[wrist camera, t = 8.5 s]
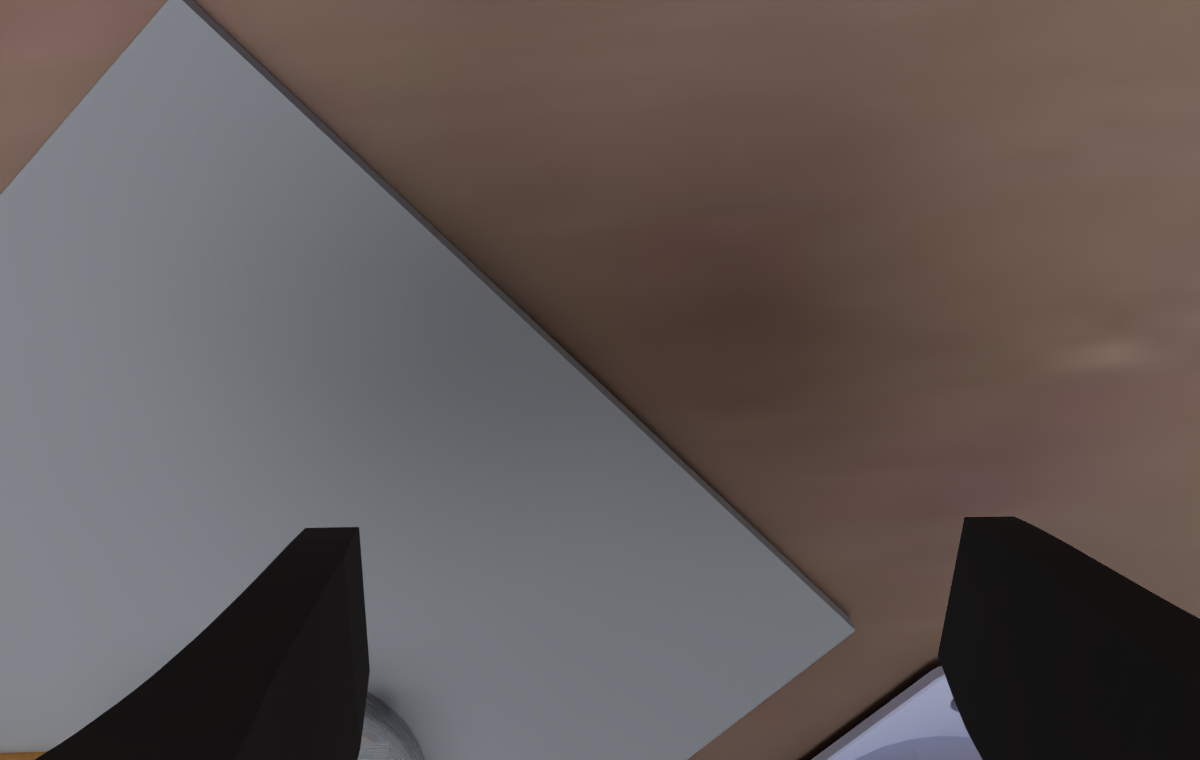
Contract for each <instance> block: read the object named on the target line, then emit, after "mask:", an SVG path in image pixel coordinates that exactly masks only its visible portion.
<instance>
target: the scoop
mask: <svg viewBox="0 0 1200 760" xmlns="http://www.w3.org/2000/svg"><path fill="white" fill-rule="evenodd" d="M361 742H390V757H391V760H425V758H424V755H423V752H422V749H421V747H420V745H419V743H418V741H417V739H416V737H415V735H414V733H413V732H412V731H411V729H410V728H409V726H408V725H407V724H406V722H405V721H404V720H403V719H402V718H401V717H400V716H399V715H398V714H397V713H396V712H395V711H394V710H393V709H392V708H390V707H389V706H388V705H387V704H386V703H384V702H383V701H382V700H380V699H379V698H377V697H375V696H374V695H372V694H371V693H369V692H367V699H366V708H365V716H364V723H363V731H362V738H361ZM46 752H47V751H45V752H14V753H0V760H35V759H36V758H38V757H39V756H41V755H43V754H44V753H46Z"/></svg>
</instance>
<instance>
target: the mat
mask: <svg viewBox="0 0 1200 760" xmlns="http://www.w3.org/2000/svg"><path fill="white" fill-rule="evenodd" d="M329 527H359V532H360V545H361V559H362V572H363V586H364V599H365V613H366V626H367V639H368V653H369V666H370V674H369V682H368V691H367V692H369V693H371V694H372V695H374V696H375V697H377V698H379V699H380V700H382V701H383V702H384V703H386V704H387V705H388V706H389V707H390V708H392V709H393V710H394V711H395V712H396V713H397V714H398V715H399V716H400V717H401V718H402V719H403V720H404V721H405V722H406V724H407V725H408V726H409V728H410V729H411V731H412V732H413V733H414V735H415V737H416V739H417V741H418V743H419V745H420V747H421V749H422V752H423V755H424V758H425V760H687V759H689V758H690V757H691V756H692V755H694V754H695V753H696V752H698V751H699V750H700V749H702V748H703V747H704V746H706V745H707V744H708V743H709V742H711V741H712V740H713V739H715V738H716V737H717V736H719V735H720V734H721V733H722V732H724V731H725V730H726V729H728V728H729V727H730V726H732V725H733V724H734V723H736V722H737V721H738V720H739V719H741V718H742V717H743V716H745V715H746V714H747V713H749V712H750V711H751V710H752V709H754V708H755V707H756V706H758V705H759V704H760V703H762V702H763V701H764V700H766V699H767V698H768V697H769V696H771V695H772V694H773V693H775V692H776V691H777V690H779V689H780V688H781V687H783V686H784V685H785V684H786V683H788V682H789V681H790V680H792V679H793V678H794V677H796V676H797V675H798V674H799V673H801V672H802V671H803V670H805V669H806V668H807V667H809V666H810V665H811V664H813V663H814V662H815V661H816V660H818V659H819V658H820V657H822V656H823V655H824V654H826V653H827V652H828V651H829V650H831V649H832V648H833V647H835V646H836V645H837V644H839V643H840V642H841V641H843V640H844V639H845V638H846V637H848V636H849V635H850V634H852V633H853V632H854V631H856V630H855V628H854V626H853V624H852V622H851V620H850V618H849V617H848V616H847V615H846V614H845V613H844V612H843V611H842V610H841V609H840V608H839V607H838V606H837V605H836V604H835V603H833V602H832V601H831V600H830V599H829V598H828V597H827V596H826V595H825V594H824V593H823V592H822V591H821V590H820V589H819V588H818V587H816V586H815V585H814V584H813V583H812V582H811V581H810V580H809V579H808V578H807V577H806V576H805V575H804V574H803V573H802V572H801V571H799V570H798V569H797V568H796V567H795V566H794V565H793V564H792V563H791V562H790V561H789V560H788V559H787V558H786V557H785V556H783V555H782V554H781V553H780V552H779V551H778V550H777V549H776V548H775V547H774V546H773V545H772V544H771V543H770V542H769V541H768V540H766V539H765V538H764V537H763V536H762V535H761V534H760V533H759V532H758V531H757V530H756V529H755V528H754V527H753V526H752V525H750V524H749V523H748V522H747V521H746V520H745V519H744V518H743V517H742V516H741V515H740V514H739V513H738V512H737V511H736V510H735V509H733V508H732V507H731V506H730V505H729V504H728V503H727V502H726V501H725V500H724V499H723V498H722V497H721V496H720V495H719V494H718V493H716V492H715V491H714V490H713V489H712V488H711V487H710V486H709V485H708V484H707V483H706V482H705V481H704V480H703V479H702V478H700V477H699V476H698V475H697V474H696V473H695V472H694V471H693V470H692V469H691V468H690V467H689V466H688V465H687V464H686V463H685V462H683V461H682V460H681V459H680V458H679V457H678V456H677V455H676V454H675V453H674V452H673V451H672V450H671V449H670V448H669V447H667V446H666V445H665V444H664V443H663V442H662V441H661V440H660V439H659V438H658V437H657V436H656V435H655V434H654V433H653V432H652V431H650V430H649V429H648V428H647V427H646V426H645V425H644V424H643V423H642V422H641V421H640V420H639V419H638V418H637V417H636V416H635V415H633V414H632V413H631V412H630V411H629V410H628V409H627V408H626V407H625V406H624V405H623V404H622V403H621V402H620V401H619V400H617V399H616V398H615V397H614V396H613V395H612V394H611V393H610V392H609V391H608V390H607V389H606V388H605V387H604V386H603V385H602V384H600V383H599V382H598V381H597V380H596V379H595V378H594V377H593V376H592V375H591V374H590V373H589V372H588V371H587V370H586V369H584V368H583V367H582V366H581V365H580V364H579V363H578V362H577V361H576V360H575V359H574V358H573V357H572V356H571V355H570V354H569V353H567V352H566V351H565V350H564V349H563V348H562V347H561V346H560V345H559V344H558V343H557V342H556V341H555V340H554V339H553V338H552V337H550V336H549V335H548V334H547V333H546V332H545V331H544V330H543V329H542V328H541V327H540V326H539V325H538V324H537V323H536V322H534V321H533V320H532V319H531V318H530V317H529V316H528V315H527V314H526V313H525V312H524V311H523V310H522V309H521V308H520V307H519V306H517V305H516V304H515V303H514V302H513V301H512V300H511V299H510V298H509V297H508V296H507V295H506V294H505V293H504V292H503V291H501V290H500V289H499V288H498V287H497V286H496V285H495V284H494V283H493V282H492V281H491V280H490V279H489V278H488V277H487V276H486V275H484V274H483V273H482V272H481V271H480V270H479V269H478V268H477V267H476V266H475V265H474V264H473V263H472V262H471V261H470V260H469V259H467V258H466V257H465V256H464V255H463V254H462V253H461V252H460V251H459V250H458V249H457V248H456V247H455V246H454V245H453V244H451V243H450V242H449V241H448V240H447V239H446V238H445V237H444V236H443V235H442V234H441V233H440V232H439V231H438V230H437V229H436V228H434V227H433V226H432V225H431V224H430V223H429V222H428V221H427V220H426V219H425V218H424V217H423V216H422V215H421V214H420V213H418V212H417V211H416V210H415V209H414V208H413V207H412V206H411V205H410V204H409V203H408V202H407V201H406V200H405V199H404V198H403V197H401V196H400V195H399V194H398V193H397V192H396V191H395V190H394V189H393V188H392V187H391V186H390V185H389V184H388V183H387V182H386V181H384V180H383V179H382V178H381V177H380V176H379V175H378V174H377V173H376V172H375V171H374V170H373V169H372V168H371V167H370V166H368V165H367V164H366V163H365V162H364V161H363V160H362V159H361V158H360V157H359V156H358V155H357V154H356V153H355V152H354V151H353V150H351V149H350V148H349V147H348V146H347V145H346V144H345V143H344V142H343V141H342V140H341V139H340V138H339V137H338V136H337V135H335V134H334V133H333V132H332V131H331V130H330V129H329V128H328V127H327V126H326V125H325V124H324V123H323V122H322V121H321V120H320V119H318V118H317V117H316V116H315V115H314V114H313V113H312V112H311V111H310V110H309V109H308V108H307V107H306V106H305V105H304V104H303V103H301V102H300V101H299V100H298V99H297V98H296V97H295V96H294V95H293V94H292V93H291V92H290V91H289V90H288V89H287V88H285V87H284V86H283V85H282V84H281V83H280V82H279V81H278V80H277V79H276V78H275V77H274V76H273V75H272V74H271V73H270V72H268V71H267V70H266V69H265V68H264V67H263V66H262V65H261V64H260V63H259V62H258V61H257V60H256V59H255V58H254V57H252V56H251V55H250V54H249V53H248V52H247V51H246V50H245V49H244V48H243V47H242V46H241V45H240V44H239V43H238V42H237V41H235V40H234V39H233V38H232V37H231V36H230V35H229V34H228V33H227V32H226V31H225V30H224V29H223V28H222V27H221V26H220V25H218V24H217V23H216V22H215V21H214V20H213V19H212V18H211V17H210V16H209V15H208V14H207V13H206V12H205V11H204V10H202V9H201V8H200V7H199V6H198V5H197V4H196V3H195V2H194V1H193V0H168V1H167V2H166V3H165V4H164V6H163V7H162V8H161V9H160V10H159V11H158V13H157V14H156V15H155V16H154V17H153V18H152V20H151V21H150V22H149V23H148V24H147V25H146V27H145V28H144V29H143V30H142V31H141V32H140V33H139V35H138V36H137V37H136V38H135V39H134V40H133V42H132V43H131V44H130V45H129V46H128V47H127V49H126V50H125V51H124V52H123V53H122V54H121V56H120V57H119V58H118V59H117V60H116V61H115V63H114V64H113V65H112V66H111V67H110V68H109V69H108V71H107V72H106V73H105V74H104V75H103V76H102V78H101V79H100V80H99V81H98V82H97V83H96V85H95V86H94V87H93V88H92V89H91V90H90V92H89V93H88V94H87V95H86V96H85V97H84V99H83V100H82V101H81V102H80V103H79V104H78V105H77V107H76V108H75V109H74V110H73V111H72V112H71V114H70V115H69V116H68V117H67V118H66V119H65V121H64V122H63V123H62V124H61V125H60V126H59V128H58V129H57V130H56V131H55V132H54V133H53V135H52V136H51V137H50V138H49V139H48V140H47V141H46V143H45V144H44V145H43V146H42V147H41V148H40V150H39V151H38V152H37V153H36V154H35V155H34V157H33V158H32V159H31V160H30V161H29V162H28V164H27V165H26V166H25V167H24V168H23V169H22V171H21V172H20V173H19V174H18V175H17V176H16V177H15V179H14V180H13V181H12V182H11V183H10V184H9V186H8V187H7V188H6V189H5V190H4V191H3V193H2V194H1V195H0V753H14V752H45V751H49V750H51V749H52V748H54V747H56V746H57V745H59V744H60V743H62V742H63V741H65V740H66V739H68V738H69V737H71V736H72V735H74V734H75V733H77V732H78V731H79V730H81V729H82V728H84V727H85V726H86V725H88V724H89V723H91V722H92V721H93V720H95V719H96V718H97V717H99V716H100V715H102V714H103V713H104V712H106V711H107V710H109V709H110V708H111V707H113V706H114V705H116V704H117V703H118V702H120V701H121V700H122V699H123V698H125V697H126V696H127V695H129V694H130V693H131V692H133V691H134V690H135V689H136V688H138V687H139V686H140V685H141V684H143V683H144V682H145V681H146V680H148V679H149V678H150V677H151V676H153V675H154V674H155V673H156V672H157V671H158V670H160V669H161V668H162V667H163V666H164V665H165V664H166V663H167V662H169V661H170V660H171V659H172V658H173V657H174V656H175V655H177V654H178V653H179V652H180V651H181V650H182V649H183V648H185V647H186V646H187V645H188V644H189V643H190V642H191V641H193V640H194V639H195V638H196V637H197V636H198V635H199V634H200V633H201V632H202V631H203V630H204V629H206V628H207V627H208V626H209V625H210V624H211V623H212V622H213V621H214V620H215V619H216V618H217V617H218V616H219V615H220V614H221V613H222V612H223V611H224V610H225V609H226V608H227V607H228V606H229V605H230V604H231V603H232V602H233V601H234V600H235V599H236V598H237V597H238V596H239V595H240V594H241V593H242V592H243V591H244V590H245V589H246V588H247V587H248V586H249V585H250V584H251V583H252V582H253V581H254V580H255V579H256V578H257V577H258V576H259V575H260V574H261V573H262V572H263V571H264V570H265V569H266V567H267V566H268V565H269V564H270V563H271V562H272V561H273V560H274V559H275V558H276V557H277V556H278V555H279V554H280V553H281V552H282V551H283V550H284V549H285V548H286V546H287V545H288V544H289V543H290V542H291V541H292V540H293V539H294V538H295V537H296V536H297V535H299V534H300V533H301V532H302V531H303V530H304V529H305V528H329Z"/></svg>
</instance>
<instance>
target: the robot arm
mask: <svg viewBox="0 0 1200 760" xmlns="http://www.w3.org/2000/svg"><path fill="white" fill-rule="evenodd" d="M938 657H939V660H940V663H941V665H942V666H939V667H937V668H935V669H934V670H932V671H930V672H929V673H928V674H926V675H925V676H924V677H922V678H921V679H919V680H918V681H917V682H915V683H914V684H913V685H911V686H910V687H909V688H907V689H906V690H905V691H903V692H902V693H901V694H899V695H898V696H897V697H895V698H894V699H892V700H891V701H890V702H888V703H887V704H886V705H884V706H883V707H882V708H880V709H879V710H878V711H876V712H875V713H874V714H872V715H871V716H869V717H868V718H867V719H865V720H864V721H863V722H861V723H860V724H859V725H857V726H856V727H855V728H853V729H852V730H851V731H849V732H848V733H846V734H845V735H844V736H842V737H841V738H840V739H838V740H837V741H836V742H834V743H833V744H832V745H830V746H829V747H828V748H826V749H825V750H824V751H822V752H821V753H819V754H818V755H817V756H815V757H814V758H813V759H811V760H1200V619H1199V618H1197V617H1195V616H1193V615H1192V614H1190V613H1188V612H1186V611H1184V610H1182V609H1181V608H1179V607H1177V606H1175V605H1173V604H1172V603H1170V602H1168V601H1166V600H1164V599H1163V598H1161V597H1159V596H1157V595H1155V594H1154V593H1152V592H1150V591H1148V590H1147V589H1145V588H1143V587H1141V586H1140V585H1138V584H1136V583H1134V582H1133V581H1131V580H1129V579H1127V578H1126V577H1124V576H1122V575H1121V574H1119V573H1117V572H1115V571H1114V570H1112V569H1110V568H1108V567H1107V566H1105V565H1103V564H1101V563H1100V562H1098V561H1096V560H1095V559H1093V558H1091V557H1089V556H1088V555H1086V554H1084V553H1082V552H1081V551H1079V550H1077V549H1075V548H1074V547H1072V546H1070V545H1068V544H1067V543H1065V542H1063V541H1061V540H1059V539H1058V538H1056V537H1054V536H1052V535H1050V534H1048V533H1047V532H1045V531H1043V530H1041V529H1039V528H1037V527H1035V526H1033V525H1031V524H1029V523H1027V522H1025V521H1022V520H1020V519H1018V518H1016V517H965V518H964V523H963V529H962V534H961V539H960V544H959V549H958V554H957V560H956V565H955V570H954V575H953V580H952V585H951V591H950V596H949V601H948V606H947V611H946V616H945V621H944V627H943V632H942V637H941V642H940V647H939V652H938ZM369 674H370V666H369V653H368V639H367V626H366V613H365V599H364V586H363V572H362V559H361V545H360V532H359V527H329V528H305V529H304V530H303V531H302V532H301V533H300V534H299V535H297V536H296V537H295V538H294V539H293V540H292V541H291V542H290V543H289V544H288V545H287V546H286V548H285V549H284V550H283V551H282V552H281V553H280V554H279V555H278V556H277V557H276V558H275V559H274V560H273V561H272V562H271V563H270V564H269V565H268V566H267V567H266V569H265V570H264V571H263V572H262V573H261V574H260V575H259V576H258V577H257V578H256V579H255V580H254V581H253V582H252V583H251V584H250V585H249V586H248V587H247V588H246V589H245V590H244V591H243V592H242V593H241V594H240V595H239V596H238V597H237V598H236V599H235V600H234V601H233V602H232V603H231V604H230V605H229V606H228V607H227V608H226V609H225V610H224V611H223V612H222V613H221V614H220V615H219V616H218V617H217V618H216V619H215V620H214V621H213V622H212V623H211V624H210V625H209V626H208V627H207V628H206V629H204V630H203V631H202V632H201V633H200V634H199V635H198V636H197V637H196V638H195V639H194V640H193V641H191V642H190V643H189V644H188V645H187V646H186V647H185V648H183V649H182V650H181V651H180V652H179V653H178V654H177V655H175V656H174V657H173V658H172V659H171V660H170V661H169V662H167V663H166V664H165V665H164V666H163V667H162V668H161V669H160V670H158V671H157V672H156V673H155V674H154V675H153V676H151V677H150V678H149V679H148V680H146V681H145V682H144V683H143V684H141V685H140V686H139V687H138V688H136V689H135V690H134V691H133V692H131V693H130V694H129V695H127V696H126V697H125V698H123V699H122V700H121V701H120V702H118V703H117V704H116V705H114V706H113V707H111V708H110V709H109V710H107V711H106V712H104V713H103V714H102V715H100V716H99V717H97V718H96V719H95V720H93V721H92V722H91V723H89V724H88V725H86V726H85V727H84V728H82V729H81V730H79V731H78V732H77V733H75V734H74V735H72V736H71V737H69V738H68V739H66V740H65V741H63V742H62V743H60V744H59V745H57V746H56V747H54V748H52V749H51V750H49V751H47V752H46V753H44V754H43V755H41V756H39V757H38V758H36V759H35V760H358V756H359V751H360V746H361V738H362V731H363V723H364V716H365V708H366V699H367V691H368V682H369ZM953 698H954V700H953Z"/></svg>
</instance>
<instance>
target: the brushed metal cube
mask: <svg viewBox="0 0 1200 760" xmlns="http://www.w3.org/2000/svg"><path fill="white" fill-rule="evenodd" d="M358 760H391V757H390V742H361V746H360V751H359V756H358Z"/></svg>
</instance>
